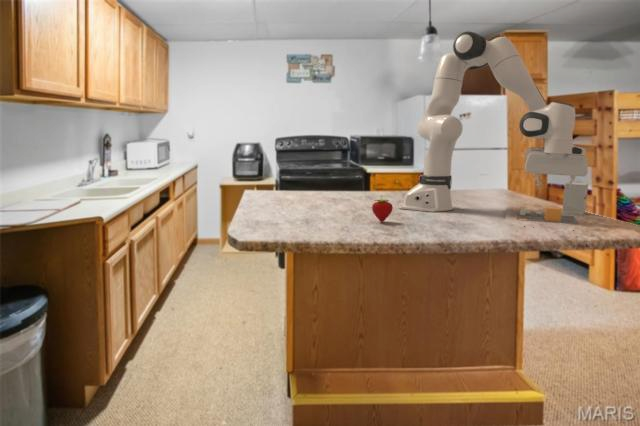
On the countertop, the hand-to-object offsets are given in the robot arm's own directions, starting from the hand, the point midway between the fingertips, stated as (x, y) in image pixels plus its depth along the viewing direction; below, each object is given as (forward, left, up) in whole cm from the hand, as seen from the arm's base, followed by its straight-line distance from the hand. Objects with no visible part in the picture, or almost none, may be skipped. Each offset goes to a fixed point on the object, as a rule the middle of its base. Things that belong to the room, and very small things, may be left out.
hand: (553, 187), depth 175 cm
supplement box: (+10, +21, -13) cm, 27 cm away
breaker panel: (-1, +4, -13) cm, 14 cm away
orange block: (+1, +1, -12) cm, 12 cm away
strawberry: (-57, -21, -13) cm, 62 cm away
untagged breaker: (-9, +7, -12) cm, 17 cm away
